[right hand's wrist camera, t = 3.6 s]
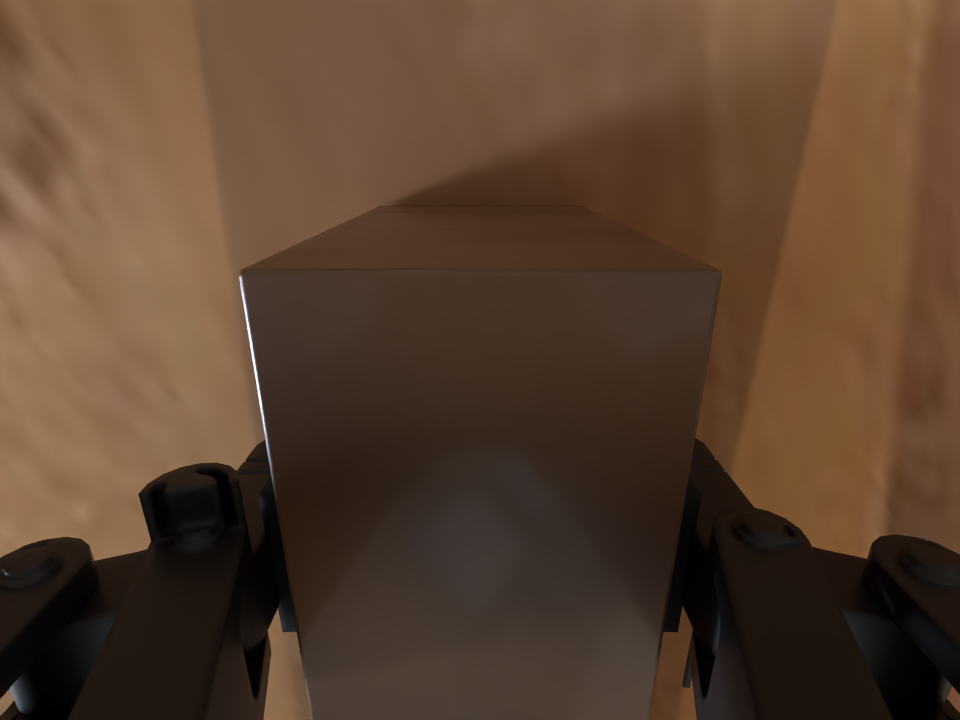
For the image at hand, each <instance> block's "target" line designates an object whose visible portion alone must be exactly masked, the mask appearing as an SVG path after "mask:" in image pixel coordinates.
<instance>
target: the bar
mask: <svg viewBox="0 0 960 720" xmlns="http://www.w3.org/2000/svg"><path fill="white" fill-rule="evenodd" d="M721 277H722V276H721V271H720V270H718V269H716V268H714V267H712V266H709V265H707V264H705V263H703V262H701V261H699V260H696V259H694V258H692V257H690V256H688V255H685V254H683V253H681V252H679V251H677V250H675V249H672V248H670V247H668V246H666V245H664V244H662V243H659V242H657V241H655V240H653V239H651V238H648V237H646V236H644V235H642V234H640V233H638V232H635V231H633V230H631V229H629V228H627V227H624V226H622V225H620V224H618V223H616V222H614V221H611V220H609V219H607V218H605V217H603V216H601V215H598V214H596V213H594V212H592V211H590V210H587V209H585V208H583V207H581V206H380V207H377V208H375V209H373V210H371V211H369V212H366V213H364V214H362V215H360V216H358V217H356V218H353V219H351V220H349V221H347V222H345V223H342V224H340V225H338V226H336V227H334V228H332V229H329V230H327V231H325V232H323V233H321V234H318V235H316V236H314V237H312V238H310V239H308V240H305V241H303V242H301V243H299V244H297V245H294V246H292V247H290V248H288V249H286V250H284V251H281V252H279V253H277V254H275V255H273V256H270V257H268V258H266V259H264V260H262V261H260V262H257V263H255V264H253V265H251V266H249V267H246V268H244V269H242V270H240V272H239V282H240V288H241V294H242V300H243V306H244V312H245V318H246V324H247V331H248V337H249V343H250V349H251V355H252V361H253V367H254V373H255V379H256V385H257V391H258V398H259V404H260V410H261V416H262V422H263V428H264V434H265V440H266V446H267V452H268V459H269V465H270V471H271V477H272V483H273V489H274V495H275V501H276V507H277V513H278V519H279V526H280V532H281V538H282V544H283V550H284V556H285V562H286V568H287V574H288V580H289V586H290V593H291V599H292V605H293V611H294V617H295V623H296V629H297V635H298V641H299V647H300V653H301V660H302V666H303V672H304V678H305V684H306V690H307V696H308V702H309V708H310V714H311V720H649V716H650V710H651V704H652V698H653V691H654V685H655V679H656V673H657V667H658V661H659V655H660V649H661V643H662V637H663V631H664V624H665V618H666V612H667V606H668V600H669V594H670V588H671V582H672V576H673V570H674V564H675V557H676V551H677V545H678V539H679V533H680V527H681V521H682V515H683V509H684V503H685V497H686V491H687V484H688V478H689V472H690V466H691V460H692V454H693V448H694V442H695V436H696V430H697V424H698V417H699V411H700V405H701V399H702V393H703V387H704V381H705V375H706V369H707V363H708V357H709V350H710V344H711V338H712V332H713V326H714V320H715V314H716V308H717V302H718V296H719V290H720V283H721Z"/></svg>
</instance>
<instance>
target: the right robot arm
mask: <svg viewBox="0 0 960 720" xmlns="http://www.w3.org/2000/svg"><path fill="white" fill-rule="evenodd" d="M139 498H140V502H141V505H142V509H143V513H144V516H145V520H146V524H147V527H148V531H149V535H150V538H151V543H150V545H149V547H148V549H147V550H143V551H139V552H135V553H130V554H126V555H121V556H116V557H111V558H106V559H102V560H97V561H94V559H93V556H92V553H91V550H90V546H89V545H88V544H87V543H86V542H84V541H83V540H82V539H78V538H70V537H62V538H54V539H46V540H42V541H38V542H36V543H31V544H28V545H25V546H23V547H21V548H19V549H17V550H15V551H13V552H11V553H9V554H7V555H5V556H3V557H1V558H0V699H1V698H2V696H3V695H4V694H5V693H6V692H7V691H8V690H9V689H10V691H11V693H12V696H13V698H14V702H13V703H12V704H11V705H10V706H9V708H8V709H7V710H6V711H5V712H4V713H3V714H2V715H1V716H0V720H263V717H264V708H265V700H266V692H267V684H268V675H269V667H270V659H271V648H270V641H269V635H268V628H269V626H270V624H271V622H272V620H273V617H274V615H275V613H276V611H277V608H278V609H279V614H280V620H281V625H282V631H283V632H297V629H296V623H295V617H294V611H293V605H292V599H291V593H290V586H289V580H288V574H287V568H286V562H285V556H284V550H283V544H282V538H281V532H280V526H279V519H278V513H277V507H276V501H275V495H274V489H273V483H272V477H271V471H270V465H269V459H268V452H267V446H266V440H264V441H263V442H261V443H259V444H258V445H257V446H256V447H255V448H254V450H253V451H252V452H251V453H250V455H249V456H248V457H247V459H246V462H243V464H242V465H241V466H240V468H239V469H238V470H237V471H236V470H234V469H233V468H232V467H231V466H228V465H224V464H219V463H199V464H195V465H190V466H185V467H181V468H178V469H176V470H173V471H170V472H168V473H165V474H163V475H161V476H160V477H158V478H156V479H155V480H153V481H151V482H150V483H148V484H147V485H146V486H145V487H144V488H143V490H142V491H141V492H140V493H139ZM682 605H683V607H684V609H685V612H686V614H687V616H688V618H689V620H690V623H691V625H692V627H693V630H692V635H691V641H690V646H689V651H688V656H687V662H686V667H685V672H684V678H683V686H682V687H686V688H690V684H691V679H692V682H693V691H694V699H695V707H696V715H697V720H960V713H959V712H958V711H957V710H956V709H955V707H954V706H953V705H952V704H951V703H950V701H949V700H948V699H947V697H948V695H949V692H950V690H951V688H952V686H953V687H954V688H955V690H956V691H957V692H958V693H959V694H960V555H959V554H958V553H955V552H953V551H951V550H949V549H947V548H945V547H943V546H941V545H940V544H937V543H934V542H931V541H929V540H928V541H926V540H925V539H921V538H917V537H910V536H902V535H888V536H881V537H879V538H878V539H877V540H875V541H874V542H873V543H872V545H871V548H870V551H869V554H868V557H867V559H865V558H861V557H856V556H851V555H846V554H841V553H836V552H832V551H827V550H822V549H819V548H815V547H812V546H811V544H810V542H809V540H808V539H807V537H806V536H805V535H804V534H803V532H802V531H801V530H800V529H799V528H798V527H796V526H795V525H794V524H792V523H791V522H789V521H788V520H787V519H785V518H783V517H780V516H778V515H776V514H774V513H772V512H769V511H766V510H762V509H757V508H754V507H753V505H752V504H751V503H750V501H749V500H748V499H747V498H746V496H745V495H744V494H743V493H742V491H741V490H740V489H739V488H738V486H737V485H736V484H735V482H734V481H733V480H732V479H731V477H730V476H729V475H728V474H727V472H724V469H723V467H722V466H721V465H720V463H719V462H718V461H717V460H715V457H714V456H713V455H712V453H711V452H710V451H709V450H708V448H707V447H706V446H705V444H704V443H702V442H701V441H699V440H698V439H696V438H695V442H694V448H693V454H692V460H691V466H690V472H689V478H688V484H687V491H686V497H685V503H684V509H683V515H682V521H681V527H680V533H679V539H678V545H677V551H676V557H675V564H674V570H673V576H672V582H671V588H670V594H669V600H668V606H667V612H666V618H665V624H664V631H663V632H678V627H679V622H680V616H681V610H682Z"/></svg>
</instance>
